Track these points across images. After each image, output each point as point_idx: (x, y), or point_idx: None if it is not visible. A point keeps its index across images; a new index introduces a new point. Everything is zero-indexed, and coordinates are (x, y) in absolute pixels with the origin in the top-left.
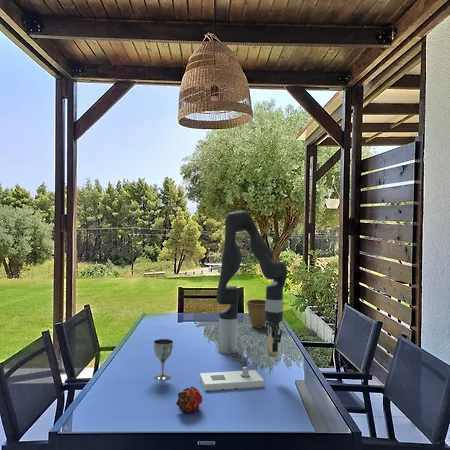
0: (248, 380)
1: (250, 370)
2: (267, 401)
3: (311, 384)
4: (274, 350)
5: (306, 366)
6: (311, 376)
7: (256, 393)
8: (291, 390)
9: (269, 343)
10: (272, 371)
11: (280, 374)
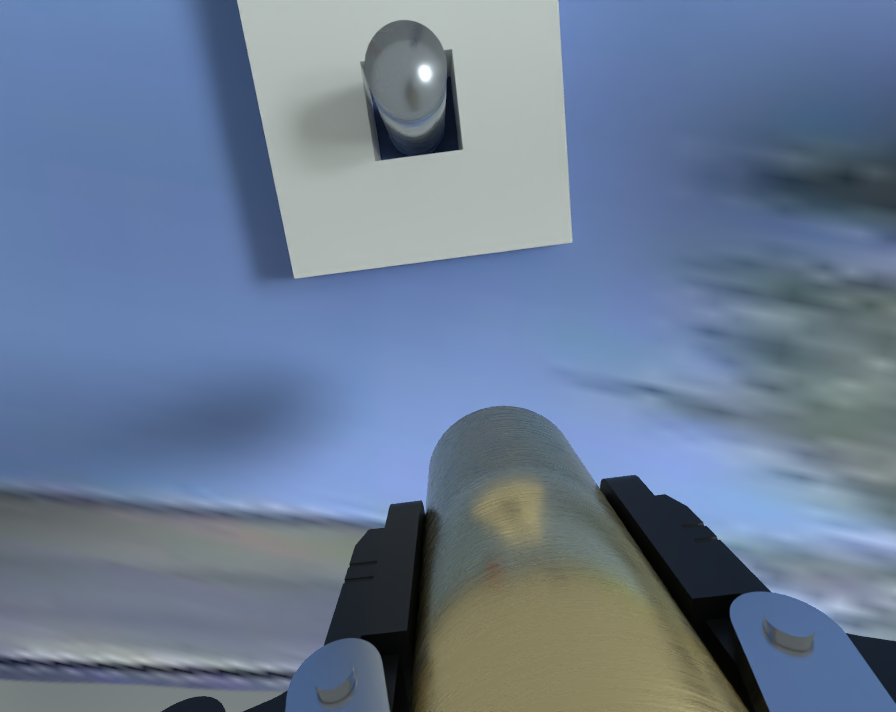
0: (288, 120)
1: (563, 190)
2: (22, 250)
3: None
4: (364, 543)
5: None
6: None
7: (168, 187)
8: (249, 469)
9: (482, 542)
10: (641, 413)
11: None
